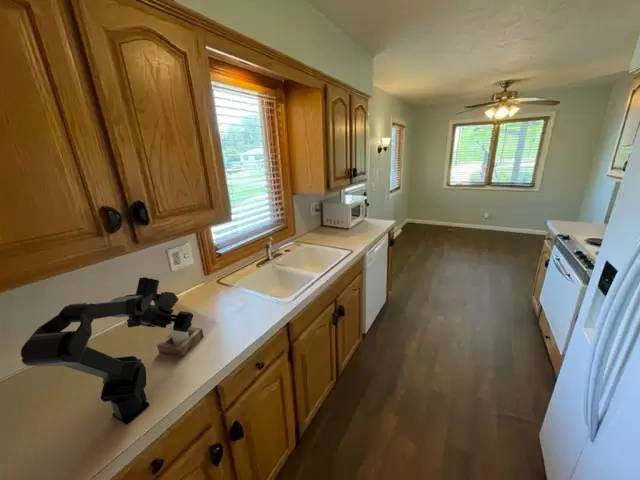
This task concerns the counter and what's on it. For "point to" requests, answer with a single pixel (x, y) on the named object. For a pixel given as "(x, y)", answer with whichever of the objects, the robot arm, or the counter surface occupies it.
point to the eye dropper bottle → (178, 336)
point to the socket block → (180, 351)
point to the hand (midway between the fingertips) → (180, 323)
